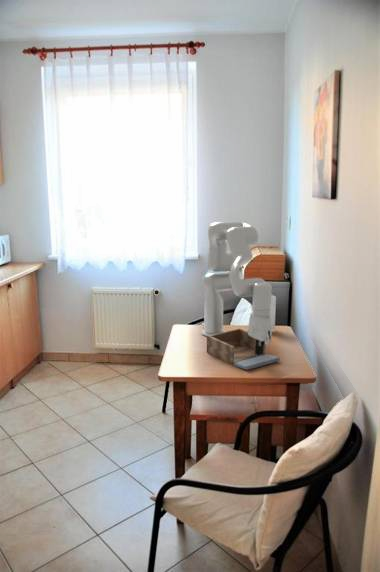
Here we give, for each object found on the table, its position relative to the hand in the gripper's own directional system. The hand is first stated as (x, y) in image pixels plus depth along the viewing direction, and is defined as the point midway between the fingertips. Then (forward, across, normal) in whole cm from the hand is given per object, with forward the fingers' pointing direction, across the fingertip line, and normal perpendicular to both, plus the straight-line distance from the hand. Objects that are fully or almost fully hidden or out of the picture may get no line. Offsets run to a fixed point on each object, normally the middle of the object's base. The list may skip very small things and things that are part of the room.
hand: (259, 353), depth 195 cm
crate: (+5, -15, 0) cm, 16 cm away
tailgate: (+5, -5, 0) cm, 7 cm away
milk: (+6, -33, +36) cm, 49 cm away
